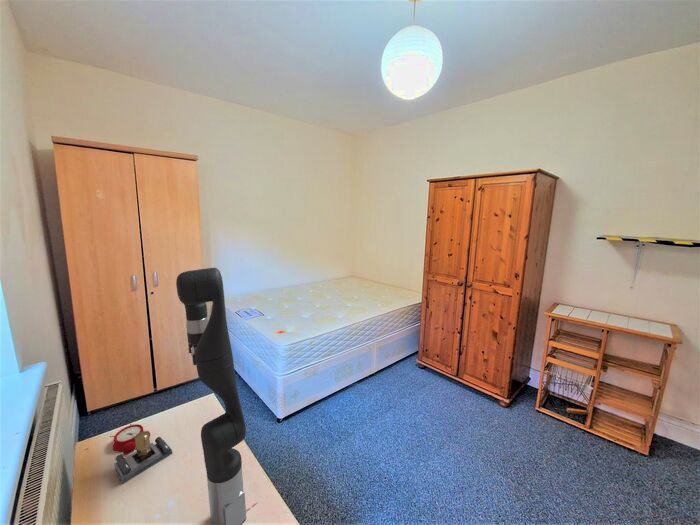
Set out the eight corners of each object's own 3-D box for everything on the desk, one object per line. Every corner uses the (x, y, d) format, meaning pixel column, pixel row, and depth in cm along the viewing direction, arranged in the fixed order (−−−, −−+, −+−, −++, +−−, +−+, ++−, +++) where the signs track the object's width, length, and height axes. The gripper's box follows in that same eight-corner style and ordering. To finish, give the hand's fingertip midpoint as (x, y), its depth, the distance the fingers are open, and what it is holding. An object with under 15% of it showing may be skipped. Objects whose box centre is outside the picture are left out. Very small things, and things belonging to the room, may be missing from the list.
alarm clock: (134, 419, 118) (154, 424, 112) (137, 433, 119) (158, 439, 112) (104, 437, 109) (124, 443, 102) (108, 452, 110) (128, 459, 103)
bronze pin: (153, 460, 103) (150, 434, 101) (140, 468, 100) (137, 441, 98) (149, 455, 106) (146, 429, 104) (136, 462, 102) (133, 436, 100)
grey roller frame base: (172, 454, 106) (171, 442, 105) (123, 484, 94) (121, 471, 93) (163, 442, 111) (161, 431, 110) (114, 470, 99) (112, 458, 98)
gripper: (179, 327, 108) (183, 366, 111) (197, 337, 100) (200, 379, 102) (199, 321, 114) (202, 358, 117) (217, 330, 105) (220, 370, 108)
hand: (201, 368), depth 110 cm, fingers open, 8 cm apart
